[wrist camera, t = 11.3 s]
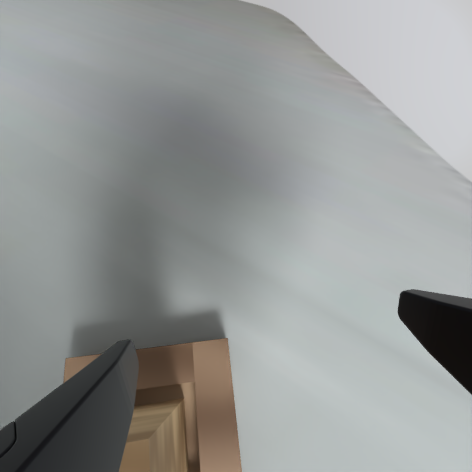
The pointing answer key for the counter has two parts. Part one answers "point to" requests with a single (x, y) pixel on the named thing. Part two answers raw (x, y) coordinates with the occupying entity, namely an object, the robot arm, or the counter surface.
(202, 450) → the socket
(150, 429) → the peg
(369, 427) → the counter surface
